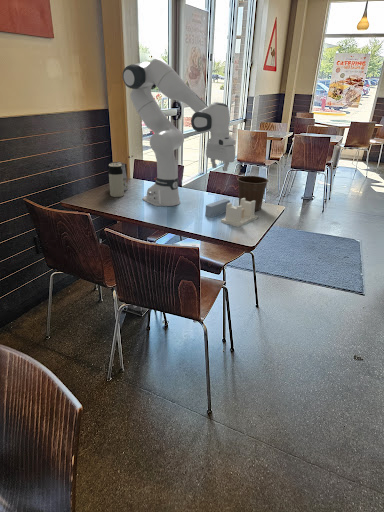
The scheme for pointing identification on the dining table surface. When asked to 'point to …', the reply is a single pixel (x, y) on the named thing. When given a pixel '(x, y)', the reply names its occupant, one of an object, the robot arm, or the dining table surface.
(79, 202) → the dining table surface
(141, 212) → the dining table surface
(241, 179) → the plant pot
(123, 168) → the coffee box
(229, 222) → the display stand
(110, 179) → the travel mug
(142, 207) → the dining table surface
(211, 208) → the blue-grey block
